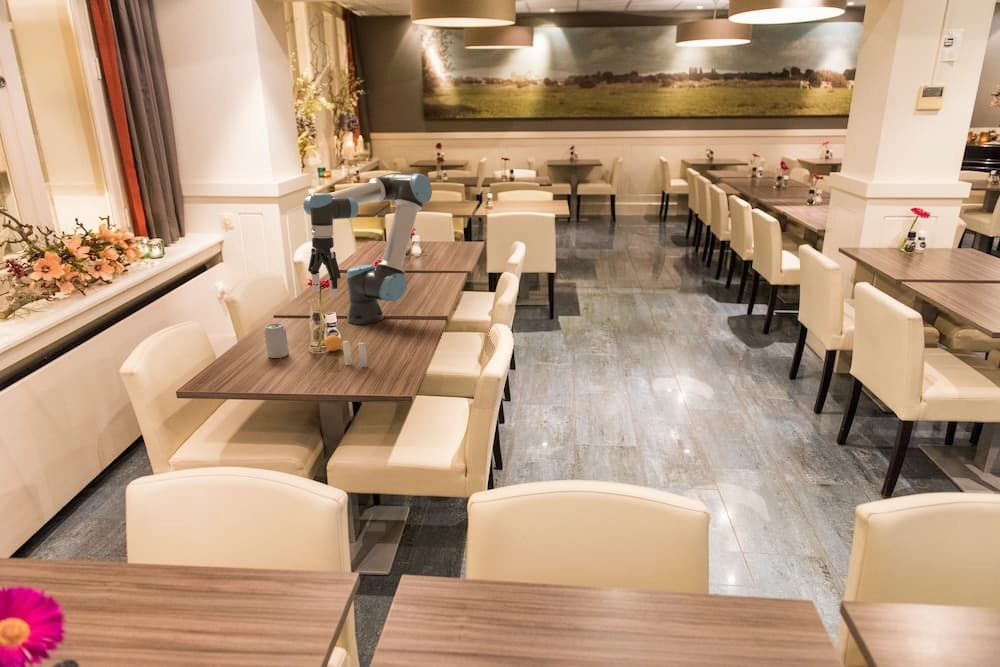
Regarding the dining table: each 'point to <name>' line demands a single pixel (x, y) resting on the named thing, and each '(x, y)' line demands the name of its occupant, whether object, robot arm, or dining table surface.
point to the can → (276, 340)
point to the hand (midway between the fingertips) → (324, 294)
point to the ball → (333, 342)
